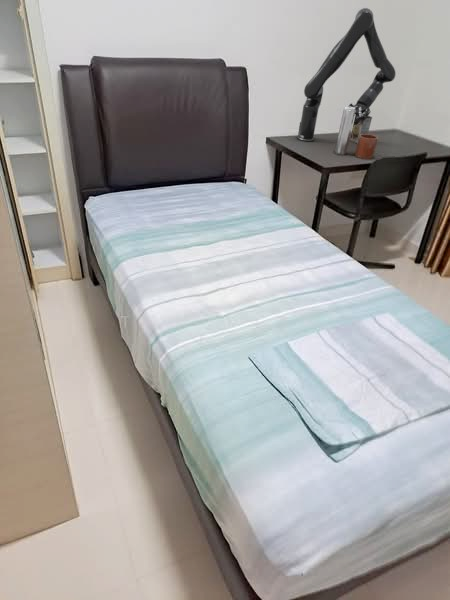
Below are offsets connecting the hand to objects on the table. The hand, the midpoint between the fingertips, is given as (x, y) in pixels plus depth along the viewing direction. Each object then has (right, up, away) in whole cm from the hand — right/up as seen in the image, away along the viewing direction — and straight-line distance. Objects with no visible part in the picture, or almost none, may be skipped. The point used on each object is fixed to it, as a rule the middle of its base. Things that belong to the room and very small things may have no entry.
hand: (349, 122), depth 243 cm
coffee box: (+15, +1, +33) cm, 36 cm away
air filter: (-3, -15, +9) cm, 17 cm away
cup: (+11, -17, +7) cm, 21 cm away
